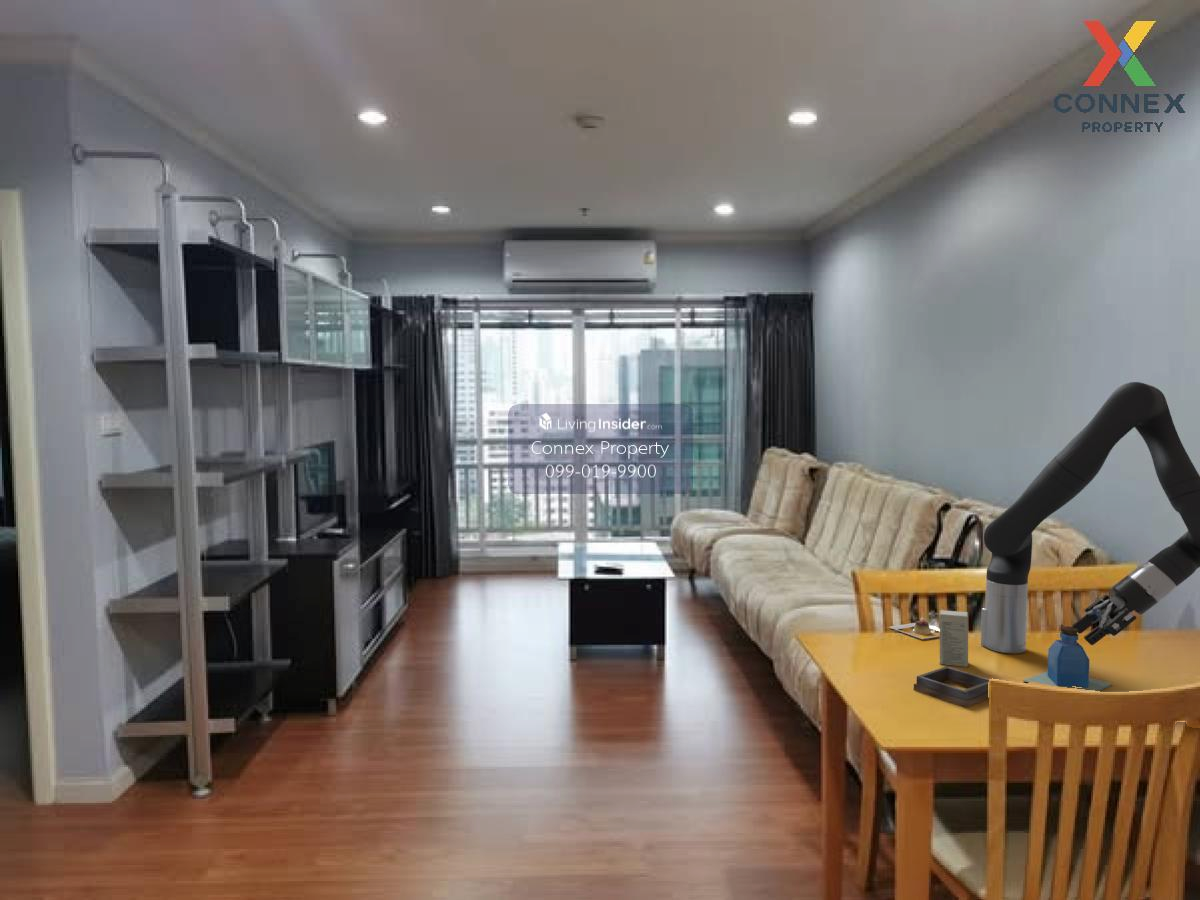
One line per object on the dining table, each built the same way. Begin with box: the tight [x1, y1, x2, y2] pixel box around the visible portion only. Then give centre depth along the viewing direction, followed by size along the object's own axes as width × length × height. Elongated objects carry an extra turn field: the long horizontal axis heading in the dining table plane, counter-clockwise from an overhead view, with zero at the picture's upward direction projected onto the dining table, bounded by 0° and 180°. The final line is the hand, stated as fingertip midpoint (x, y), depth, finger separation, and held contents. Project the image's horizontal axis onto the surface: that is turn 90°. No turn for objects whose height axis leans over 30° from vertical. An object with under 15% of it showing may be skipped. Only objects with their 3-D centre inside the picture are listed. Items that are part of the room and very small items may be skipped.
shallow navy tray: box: [913, 665, 990, 708], centre depth 168 cm, size 12×12×3 cm
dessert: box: [889, 616, 940, 641], centre depth 212 cm, size 12×12×5 cm
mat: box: [1022, 670, 1112, 692], centre depth 173 cm, size 12×14×1 cm
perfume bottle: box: [1047, 625, 1090, 688], centre depth 173 cm, size 6×6×12 cm
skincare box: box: [939, 609, 969, 668], centre depth 187 cm, size 6×4×12 cm
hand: (1081, 635), depth 172 cm, fingers open, 8 cm apart
